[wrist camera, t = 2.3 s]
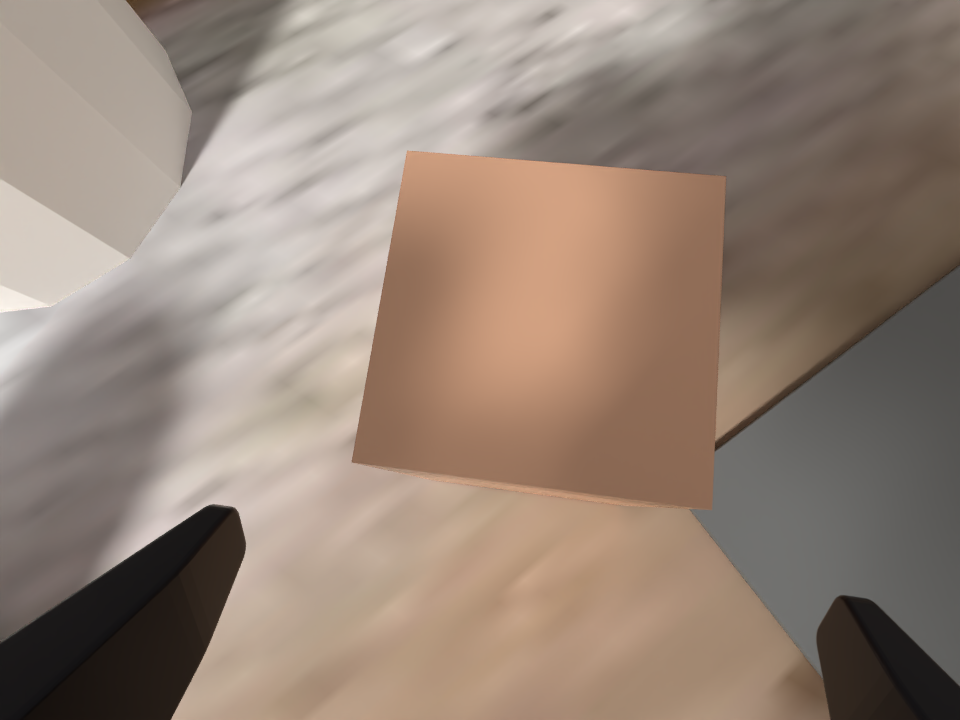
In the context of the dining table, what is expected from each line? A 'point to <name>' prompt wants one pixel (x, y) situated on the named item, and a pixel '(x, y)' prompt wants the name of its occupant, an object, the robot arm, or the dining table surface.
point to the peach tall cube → (550, 331)
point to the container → (81, 143)
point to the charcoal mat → (857, 485)
